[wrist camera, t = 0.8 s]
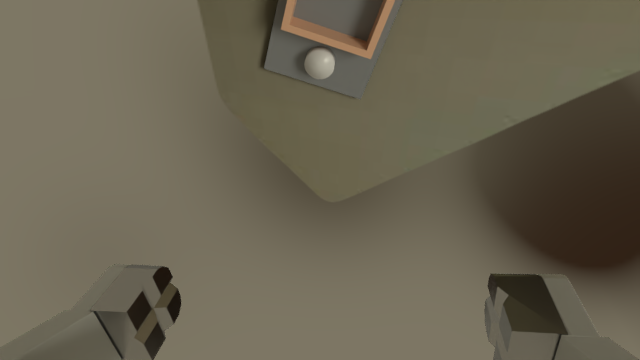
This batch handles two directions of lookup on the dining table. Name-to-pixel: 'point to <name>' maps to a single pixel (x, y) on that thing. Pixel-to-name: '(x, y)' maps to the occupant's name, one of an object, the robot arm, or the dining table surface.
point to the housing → (330, 41)
